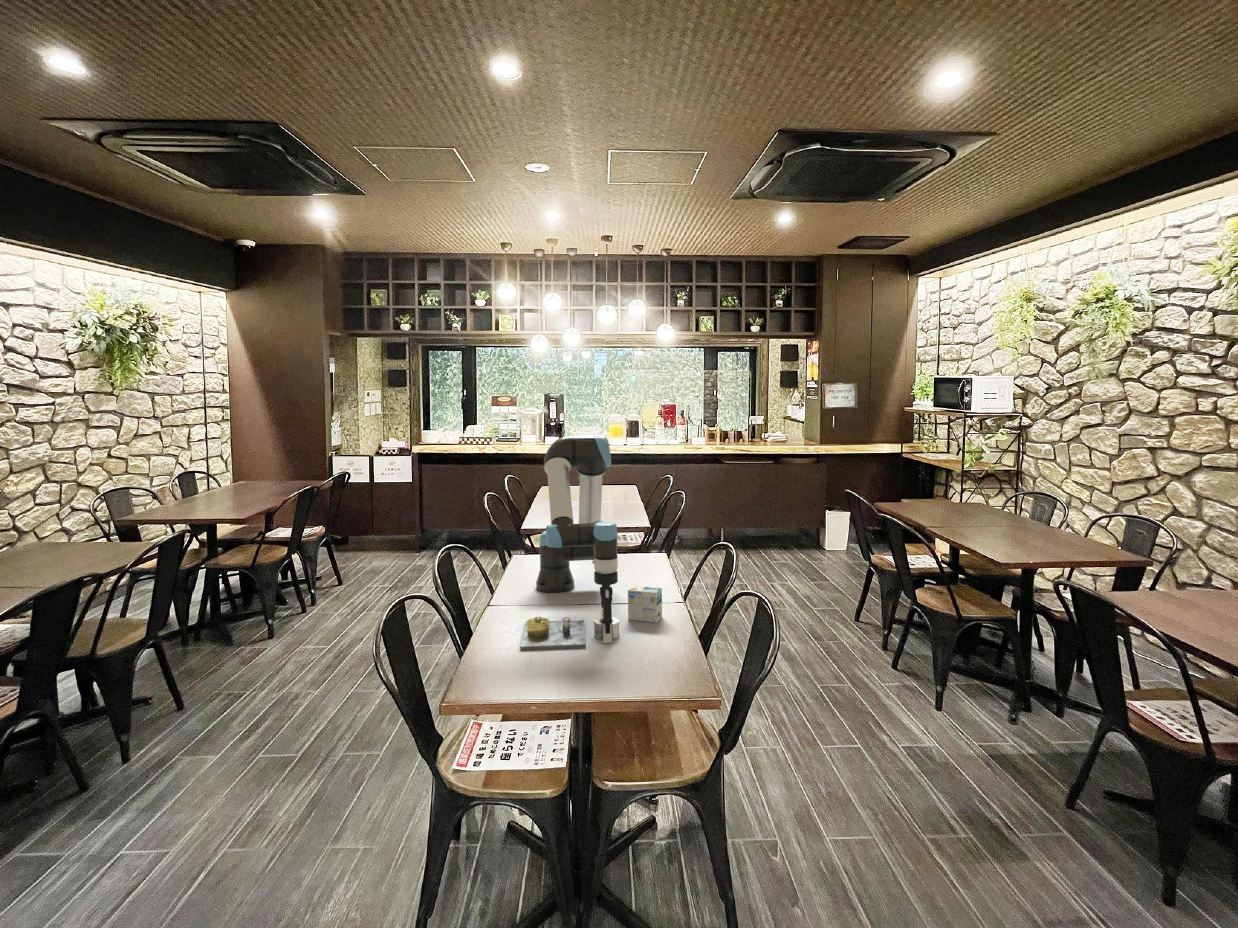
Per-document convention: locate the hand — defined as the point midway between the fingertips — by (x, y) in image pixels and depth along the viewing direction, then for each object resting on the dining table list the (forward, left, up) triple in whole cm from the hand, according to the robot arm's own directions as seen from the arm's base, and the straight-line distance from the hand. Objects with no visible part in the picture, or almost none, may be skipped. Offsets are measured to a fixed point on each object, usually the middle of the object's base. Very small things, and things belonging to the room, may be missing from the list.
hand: (606, 634), depth 227 cm
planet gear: (0, 0, 0) cm, 0 cm away
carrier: (-1, -17, 0) cm, 17 cm away
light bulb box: (-15, +14, 0) cm, 21 cm away
